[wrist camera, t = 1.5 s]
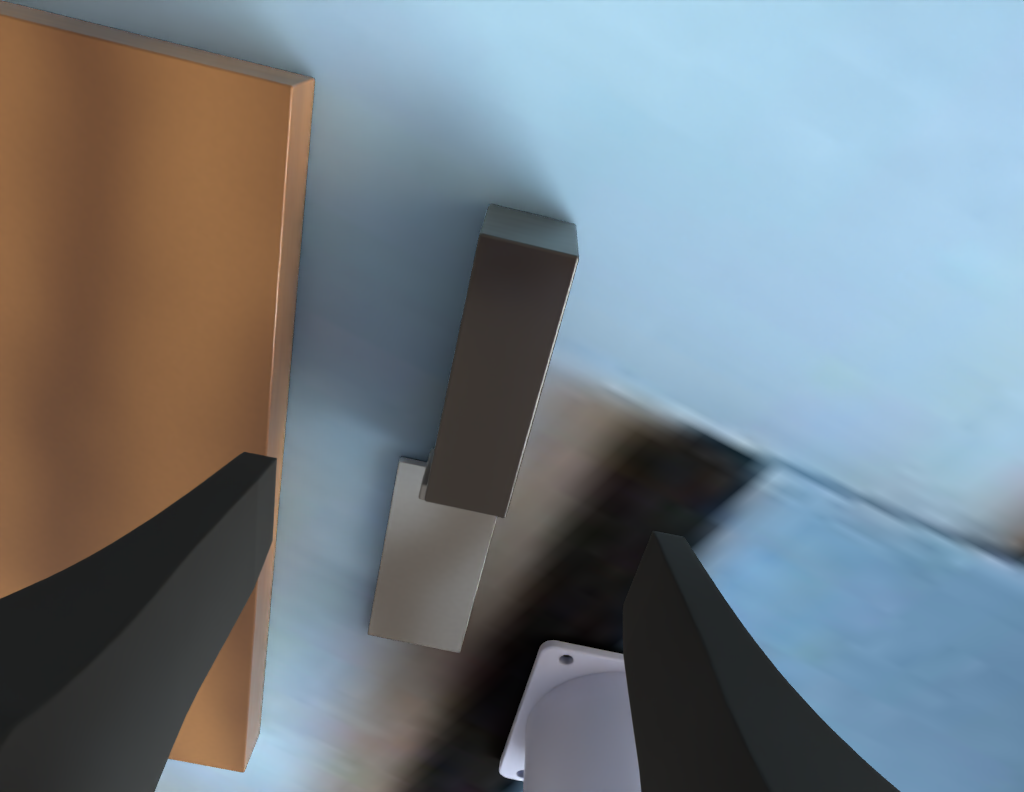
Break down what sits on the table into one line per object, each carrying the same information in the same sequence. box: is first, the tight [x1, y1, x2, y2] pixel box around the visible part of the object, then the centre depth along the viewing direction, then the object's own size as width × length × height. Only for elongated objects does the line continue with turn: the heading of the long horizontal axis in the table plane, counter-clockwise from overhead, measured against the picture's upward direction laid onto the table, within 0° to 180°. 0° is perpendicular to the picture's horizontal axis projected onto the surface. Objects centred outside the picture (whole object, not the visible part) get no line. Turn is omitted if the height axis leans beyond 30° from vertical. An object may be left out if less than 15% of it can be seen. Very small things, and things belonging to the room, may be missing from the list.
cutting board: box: [0, 0, 315, 772], centre depth 23 cm, size 11×26×2 cm, turn 167°
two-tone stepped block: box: [368, 204, 579, 653], centre depth 22 cm, size 4×17×3 cm, turn 167°
